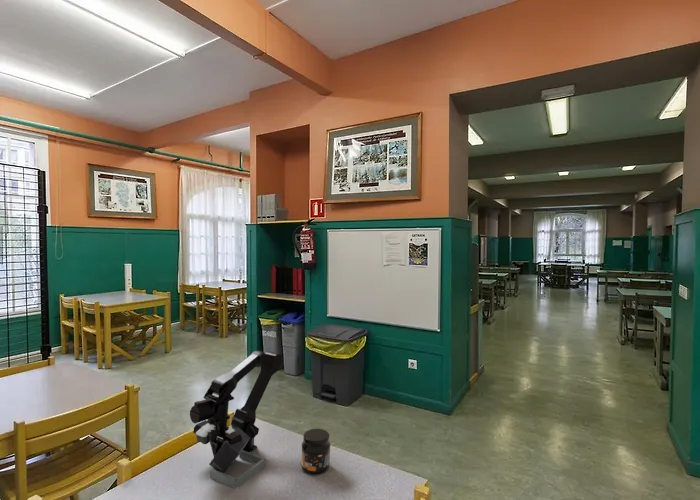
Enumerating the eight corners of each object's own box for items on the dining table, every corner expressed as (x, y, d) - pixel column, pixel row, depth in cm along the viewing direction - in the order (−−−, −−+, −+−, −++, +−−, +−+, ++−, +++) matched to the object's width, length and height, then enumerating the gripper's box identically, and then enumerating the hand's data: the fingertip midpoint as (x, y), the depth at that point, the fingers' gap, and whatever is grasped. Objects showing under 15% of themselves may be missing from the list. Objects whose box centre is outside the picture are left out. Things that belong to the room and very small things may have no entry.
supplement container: (294, 468, 130) (295, 435, 130) (314, 456, 139) (315, 424, 139) (316, 480, 124) (317, 445, 124) (335, 466, 132) (336, 433, 132)
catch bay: (241, 456, 136) (241, 449, 136) (265, 465, 132) (266, 458, 132) (210, 478, 123) (211, 470, 123) (236, 488, 118) (237, 481, 118)
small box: (222, 476, 124) (238, 453, 123) (208, 464, 125) (224, 441, 124) (236, 459, 135) (251, 437, 134) (223, 448, 135) (237, 426, 135)
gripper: (182, 414, 128) (178, 458, 128) (221, 430, 120) (217, 477, 120) (207, 404, 138) (203, 445, 138) (244, 418, 130) (240, 461, 130)
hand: (215, 457), depth 131 cm, fingers closed
